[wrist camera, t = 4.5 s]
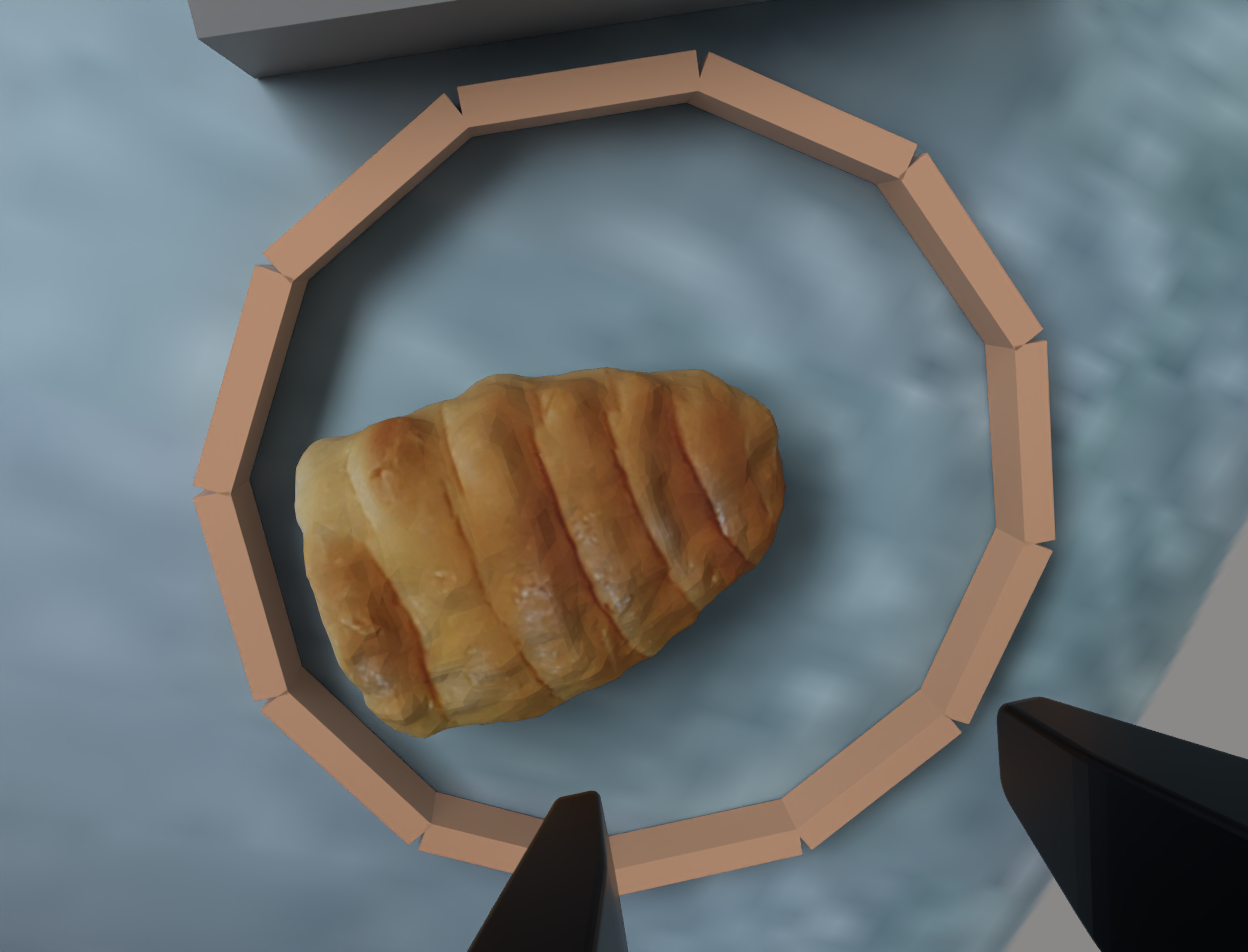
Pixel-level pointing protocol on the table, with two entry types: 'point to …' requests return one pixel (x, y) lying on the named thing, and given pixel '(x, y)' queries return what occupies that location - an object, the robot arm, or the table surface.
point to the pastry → (532, 536)
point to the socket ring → (868, 759)
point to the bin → (397, 26)
